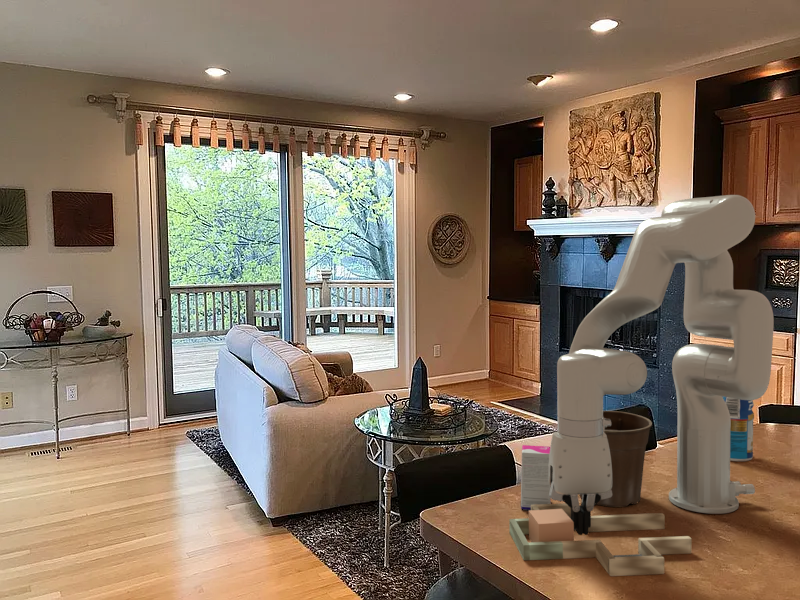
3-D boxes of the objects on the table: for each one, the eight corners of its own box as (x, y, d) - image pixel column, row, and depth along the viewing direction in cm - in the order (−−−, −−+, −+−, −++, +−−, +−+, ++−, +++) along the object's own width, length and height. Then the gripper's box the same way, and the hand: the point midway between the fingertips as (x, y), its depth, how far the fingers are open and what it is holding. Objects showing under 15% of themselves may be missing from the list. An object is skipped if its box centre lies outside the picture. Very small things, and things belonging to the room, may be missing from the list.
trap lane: (647, 512, 127) (647, 500, 127) (711, 571, 103) (711, 556, 103) (502, 518, 126) (502, 505, 125) (533, 579, 102) (533, 563, 101)
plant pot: (659, 514, 126) (659, 430, 125) (572, 510, 129) (571, 428, 128) (643, 485, 142) (643, 411, 141) (566, 482, 145) (565, 409, 144)
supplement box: (551, 511, 128) (551, 453, 128) (520, 510, 130) (519, 452, 129) (550, 500, 134) (550, 445, 133) (521, 499, 135) (520, 444, 135)
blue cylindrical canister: (706, 454, 163) (707, 373, 162) (734, 450, 166) (735, 371, 164) (733, 464, 155) (734, 379, 154) (761, 460, 157) (762, 376, 156)
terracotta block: (562, 536, 117) (561, 508, 117) (573, 551, 111) (573, 522, 111) (528, 538, 117) (528, 510, 116) (538, 553, 111) (538, 524, 110)
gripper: (615, 419, 117) (615, 521, 118) (531, 422, 116) (532, 524, 117) (631, 430, 109) (632, 538, 111) (542, 433, 109) (543, 542, 110)
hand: (580, 531), depth 114 cm, fingers closed
